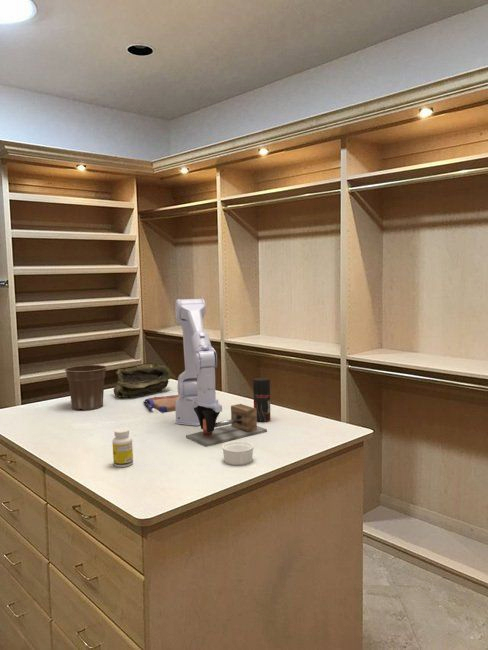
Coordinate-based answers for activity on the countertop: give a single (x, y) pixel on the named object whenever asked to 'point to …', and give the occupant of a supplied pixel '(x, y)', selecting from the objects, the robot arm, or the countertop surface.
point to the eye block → (232, 427)
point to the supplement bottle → (122, 448)
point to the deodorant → (262, 398)
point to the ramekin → (238, 452)
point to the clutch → (162, 403)
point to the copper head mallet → (219, 424)
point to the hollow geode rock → (141, 379)
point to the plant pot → (86, 386)
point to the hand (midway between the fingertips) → (207, 429)
